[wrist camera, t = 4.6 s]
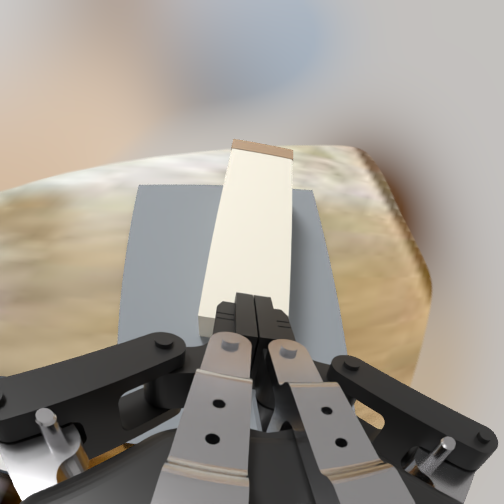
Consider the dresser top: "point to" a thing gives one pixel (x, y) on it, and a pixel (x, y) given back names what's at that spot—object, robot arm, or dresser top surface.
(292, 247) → the rubber mat
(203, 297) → the cream block
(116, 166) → the dresser top surface
